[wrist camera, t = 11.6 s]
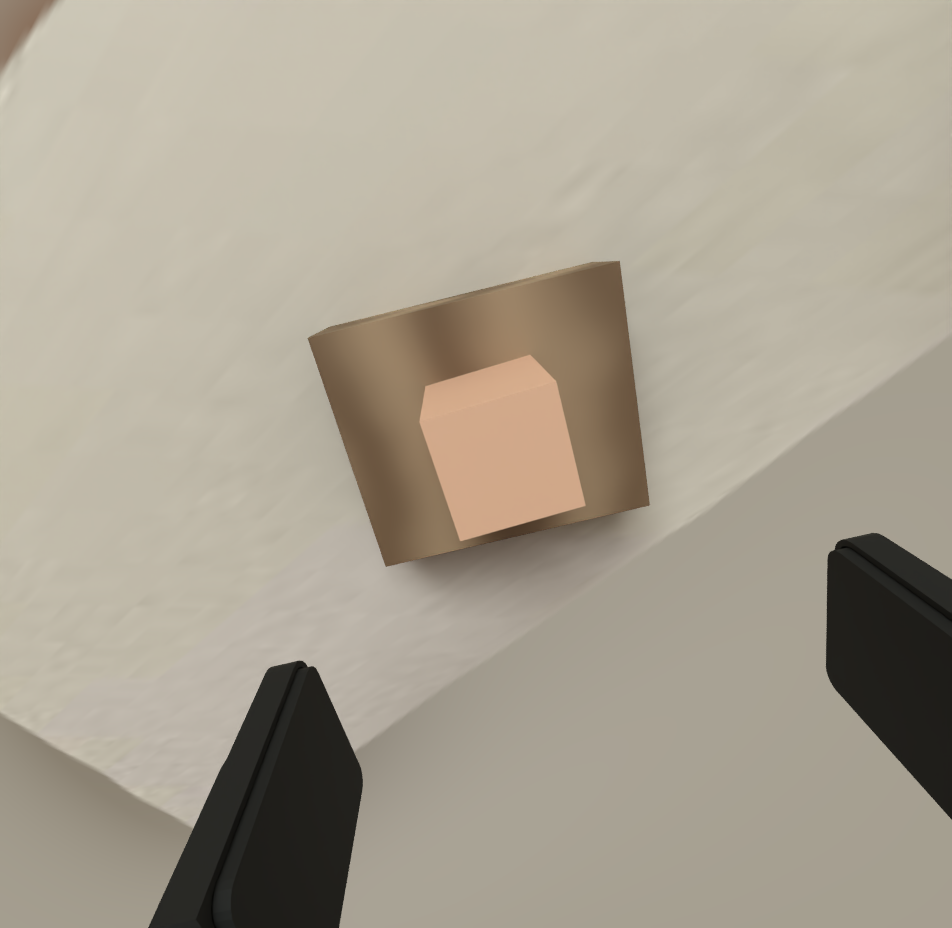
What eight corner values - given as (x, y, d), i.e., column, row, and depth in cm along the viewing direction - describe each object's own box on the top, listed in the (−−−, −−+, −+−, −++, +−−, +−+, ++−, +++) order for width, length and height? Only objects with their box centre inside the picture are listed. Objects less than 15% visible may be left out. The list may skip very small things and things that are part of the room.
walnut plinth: (589, 262, 27) (619, 261, 23) (619, 469, 32) (649, 505, 27) (330, 326, 28) (307, 338, 23) (394, 522, 32) (386, 566, 27)
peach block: (530, 354, 24) (556, 381, 18) (554, 453, 26) (585, 505, 20) (425, 386, 24) (419, 421, 18) (457, 482, 26) (460, 541, 20)
